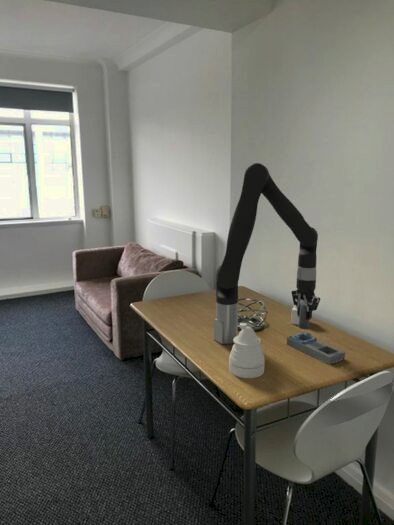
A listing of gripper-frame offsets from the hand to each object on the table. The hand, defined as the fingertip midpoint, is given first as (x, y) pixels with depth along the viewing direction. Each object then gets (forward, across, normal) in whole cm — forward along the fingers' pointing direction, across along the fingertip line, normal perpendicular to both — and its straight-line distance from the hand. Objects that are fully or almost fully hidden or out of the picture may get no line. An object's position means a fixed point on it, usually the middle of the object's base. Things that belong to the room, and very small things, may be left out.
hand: (304, 317), depth 173 cm
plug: (+4, 0, 0) cm, 4 cm away
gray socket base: (+12, +6, 0) cm, 14 cm away
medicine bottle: (+13, -20, +19) cm, 30 cm away
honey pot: (+12, +4, -33) cm, 36 cm away
